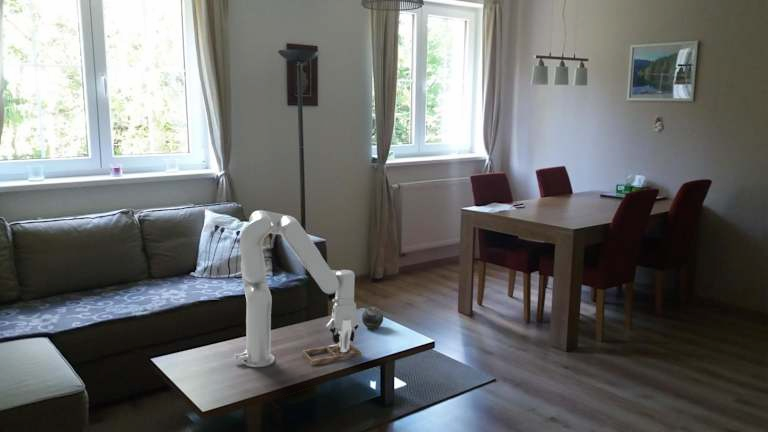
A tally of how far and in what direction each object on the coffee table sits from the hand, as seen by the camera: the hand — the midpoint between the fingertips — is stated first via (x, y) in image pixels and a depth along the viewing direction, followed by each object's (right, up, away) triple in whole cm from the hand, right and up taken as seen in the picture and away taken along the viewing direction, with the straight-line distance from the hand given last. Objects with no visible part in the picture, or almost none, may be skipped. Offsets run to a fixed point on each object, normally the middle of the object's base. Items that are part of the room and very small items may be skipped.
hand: (343, 341), depth 258 cm
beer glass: (0, -5, +1) cm, 5 cm away
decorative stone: (+11, -1, +32) cm, 34 cm away
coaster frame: (-5, -6, -1) cm, 8 cm away
